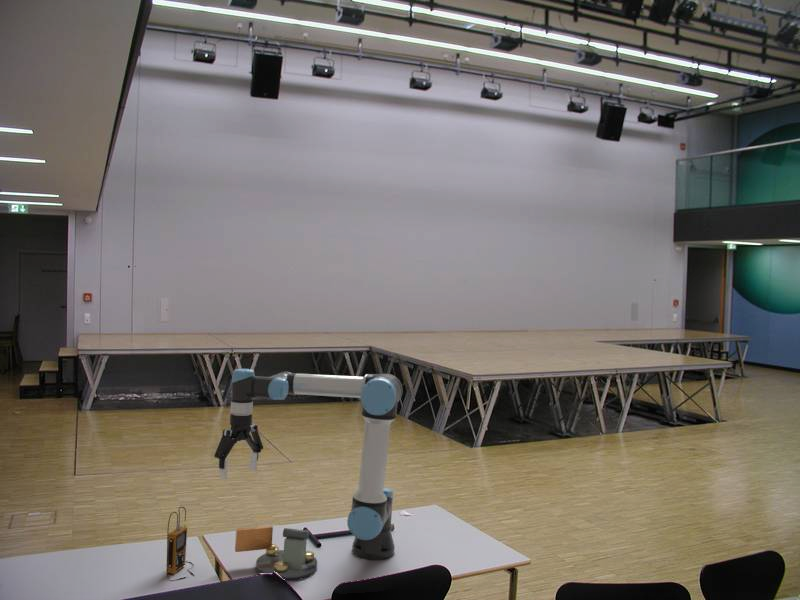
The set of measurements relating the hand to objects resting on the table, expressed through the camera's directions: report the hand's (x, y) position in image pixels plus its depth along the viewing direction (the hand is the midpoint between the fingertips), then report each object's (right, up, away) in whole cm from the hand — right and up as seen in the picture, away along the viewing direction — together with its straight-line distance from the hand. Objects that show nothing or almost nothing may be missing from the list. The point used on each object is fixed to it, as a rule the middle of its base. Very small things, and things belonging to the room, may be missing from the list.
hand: (238, 474), depth 245 cm
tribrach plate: (+19, -28, -12) cm, 36 cm away
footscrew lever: (+9, -25, -10) cm, 28 cm away
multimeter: (-12, -27, -20) cm, 35 cm away
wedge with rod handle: (+22, -26, -14) cm, 37 cm away
